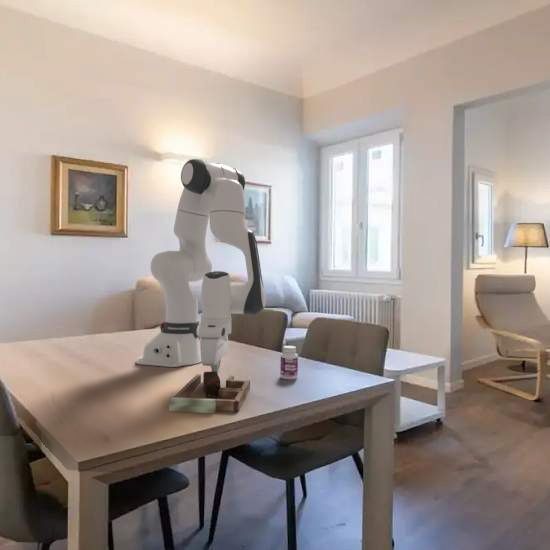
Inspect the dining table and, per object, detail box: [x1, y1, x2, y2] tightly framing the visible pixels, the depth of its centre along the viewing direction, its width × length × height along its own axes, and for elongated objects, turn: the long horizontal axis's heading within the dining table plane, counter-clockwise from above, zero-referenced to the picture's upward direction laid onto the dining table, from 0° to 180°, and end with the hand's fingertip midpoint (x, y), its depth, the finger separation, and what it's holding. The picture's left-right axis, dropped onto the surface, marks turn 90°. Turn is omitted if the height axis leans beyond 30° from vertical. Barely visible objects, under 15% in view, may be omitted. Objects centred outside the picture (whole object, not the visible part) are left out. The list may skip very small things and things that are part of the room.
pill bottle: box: [279, 345, 299, 380], centre depth 144 cm, size 5×5×10 cm
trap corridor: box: [168, 373, 251, 414], centre depth 123 cm, size 16×26×3 cm, turn 175°
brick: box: [202, 370, 222, 399], centre depth 127 cm, size 11×4×5 cm, turn 13°
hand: (215, 374), depth 136 cm, fingers closed
